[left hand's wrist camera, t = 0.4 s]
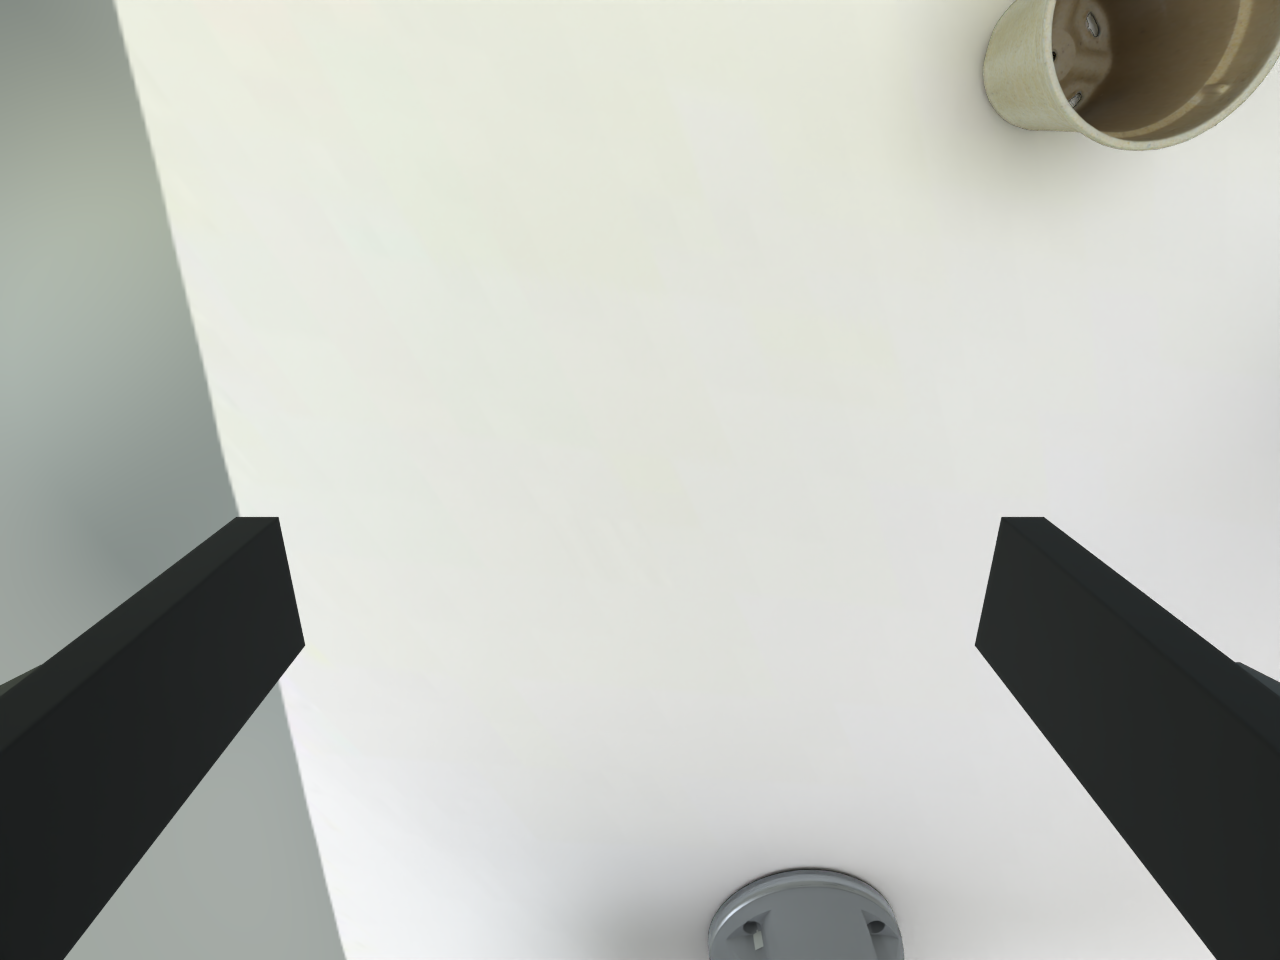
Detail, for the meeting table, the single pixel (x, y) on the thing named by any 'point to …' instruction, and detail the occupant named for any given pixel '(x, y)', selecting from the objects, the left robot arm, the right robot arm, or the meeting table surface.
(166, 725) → the left robot arm
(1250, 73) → the flower pot
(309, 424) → the meeting table surface
